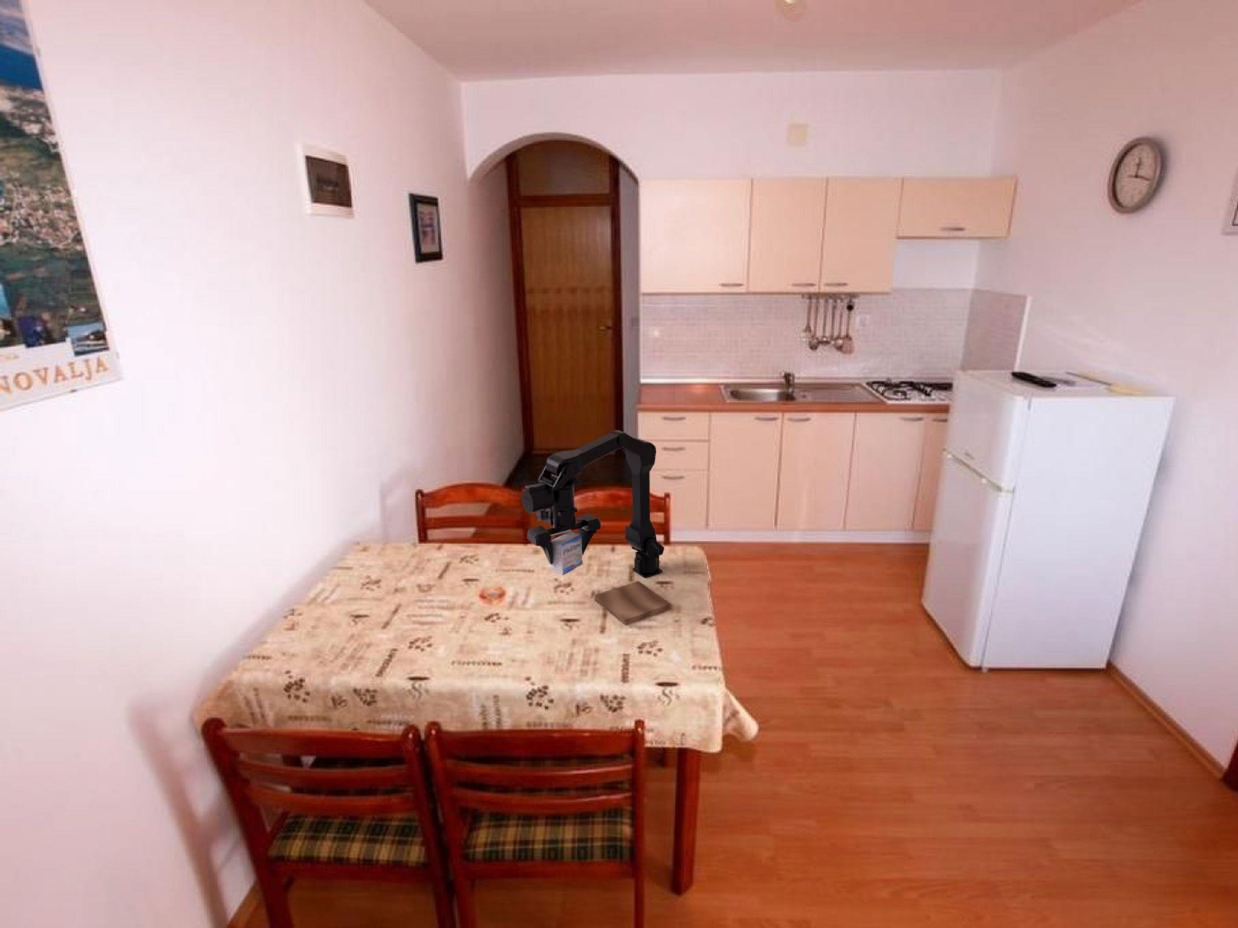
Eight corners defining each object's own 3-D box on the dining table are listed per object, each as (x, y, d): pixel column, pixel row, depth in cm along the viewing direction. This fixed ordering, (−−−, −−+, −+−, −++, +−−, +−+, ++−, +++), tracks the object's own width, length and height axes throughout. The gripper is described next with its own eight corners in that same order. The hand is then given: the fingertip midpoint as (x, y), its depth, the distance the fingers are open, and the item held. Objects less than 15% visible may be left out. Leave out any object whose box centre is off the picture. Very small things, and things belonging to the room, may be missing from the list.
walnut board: (638, 585, 182) (638, 580, 181) (670, 608, 170) (670, 603, 169) (594, 600, 175) (594, 595, 174) (625, 625, 163) (625, 619, 162)
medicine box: (563, 576, 167) (561, 545, 165) (550, 571, 170) (548, 540, 167) (583, 564, 173) (581, 534, 170) (570, 560, 176) (568, 530, 173)
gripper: (579, 486, 177) (582, 539, 182) (516, 502, 168) (520, 557, 173) (601, 498, 168) (603, 554, 173) (535, 515, 159) (539, 573, 164)
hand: (566, 559), depth 171 cm, fingers closed on medicine box, 9 cm apart
